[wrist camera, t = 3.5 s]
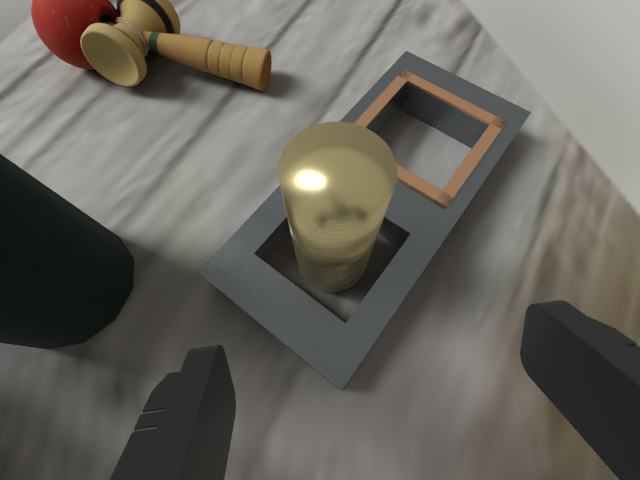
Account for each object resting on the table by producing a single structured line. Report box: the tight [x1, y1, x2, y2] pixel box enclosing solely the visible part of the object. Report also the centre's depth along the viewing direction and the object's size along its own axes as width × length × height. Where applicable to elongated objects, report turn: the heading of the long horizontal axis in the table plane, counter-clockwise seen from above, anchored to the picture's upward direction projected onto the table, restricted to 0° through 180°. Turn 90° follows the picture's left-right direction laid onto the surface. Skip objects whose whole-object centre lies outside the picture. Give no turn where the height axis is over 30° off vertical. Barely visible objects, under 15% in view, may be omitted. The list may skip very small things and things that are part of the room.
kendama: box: [31, 0, 271, 91], centre depth 27 cm, size 8×6×18 cm
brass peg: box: [278, 122, 397, 292], centre depth 18 cm, size 4×4×10 cm
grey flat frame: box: [198, 51, 531, 391], centre depth 22 cm, size 10×22×3 cm, turn 143°
